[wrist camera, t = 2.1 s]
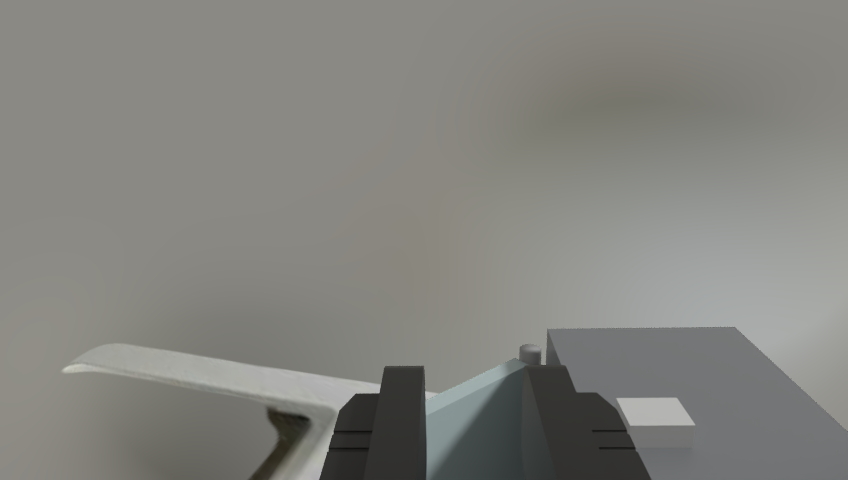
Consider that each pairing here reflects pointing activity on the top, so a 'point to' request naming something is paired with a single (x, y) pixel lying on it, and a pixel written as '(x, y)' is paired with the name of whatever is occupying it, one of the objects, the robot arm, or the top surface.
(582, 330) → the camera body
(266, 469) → the top surface
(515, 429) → the side door
